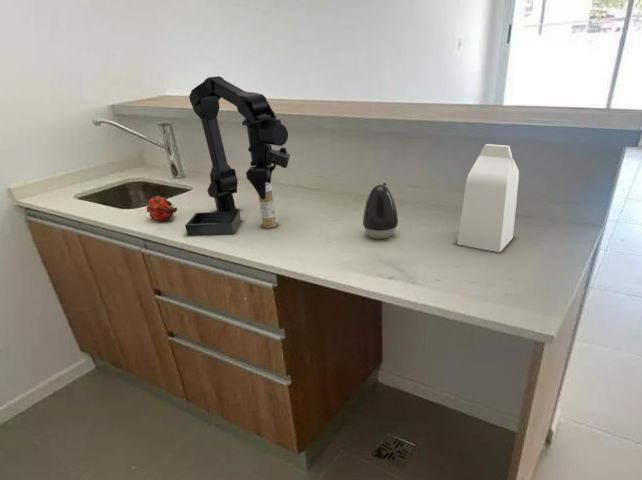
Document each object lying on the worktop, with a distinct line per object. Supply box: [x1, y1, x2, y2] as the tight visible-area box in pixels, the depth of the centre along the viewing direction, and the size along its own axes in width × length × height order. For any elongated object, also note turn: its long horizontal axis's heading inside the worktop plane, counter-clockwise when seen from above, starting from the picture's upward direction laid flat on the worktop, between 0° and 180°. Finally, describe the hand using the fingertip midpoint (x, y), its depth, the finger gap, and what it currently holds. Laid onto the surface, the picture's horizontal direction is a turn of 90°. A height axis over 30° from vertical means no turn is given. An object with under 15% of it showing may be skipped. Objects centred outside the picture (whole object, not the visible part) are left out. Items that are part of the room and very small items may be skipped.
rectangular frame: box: [184, 210, 242, 237], centre depth 150 cm, size 12×15×4 cm
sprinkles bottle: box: [258, 183, 278, 229], centre depth 147 cm, size 5×5×14 cm
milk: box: [456, 143, 520, 253], centre depth 125 cm, size 12×12×26 cm
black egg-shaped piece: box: [362, 182, 399, 240], centre depth 135 cm, size 10×10×15 cm
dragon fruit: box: [146, 195, 178, 223], centre depth 159 cm, size 8×8×12 cm
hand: (266, 194), depth 144 cm, fingers open, 9 cm apart
